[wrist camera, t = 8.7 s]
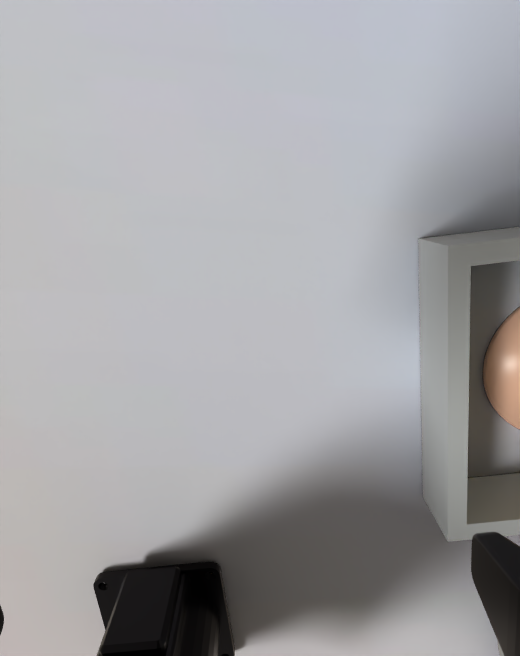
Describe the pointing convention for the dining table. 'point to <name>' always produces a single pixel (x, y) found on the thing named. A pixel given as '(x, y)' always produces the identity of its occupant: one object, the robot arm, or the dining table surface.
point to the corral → (464, 384)
